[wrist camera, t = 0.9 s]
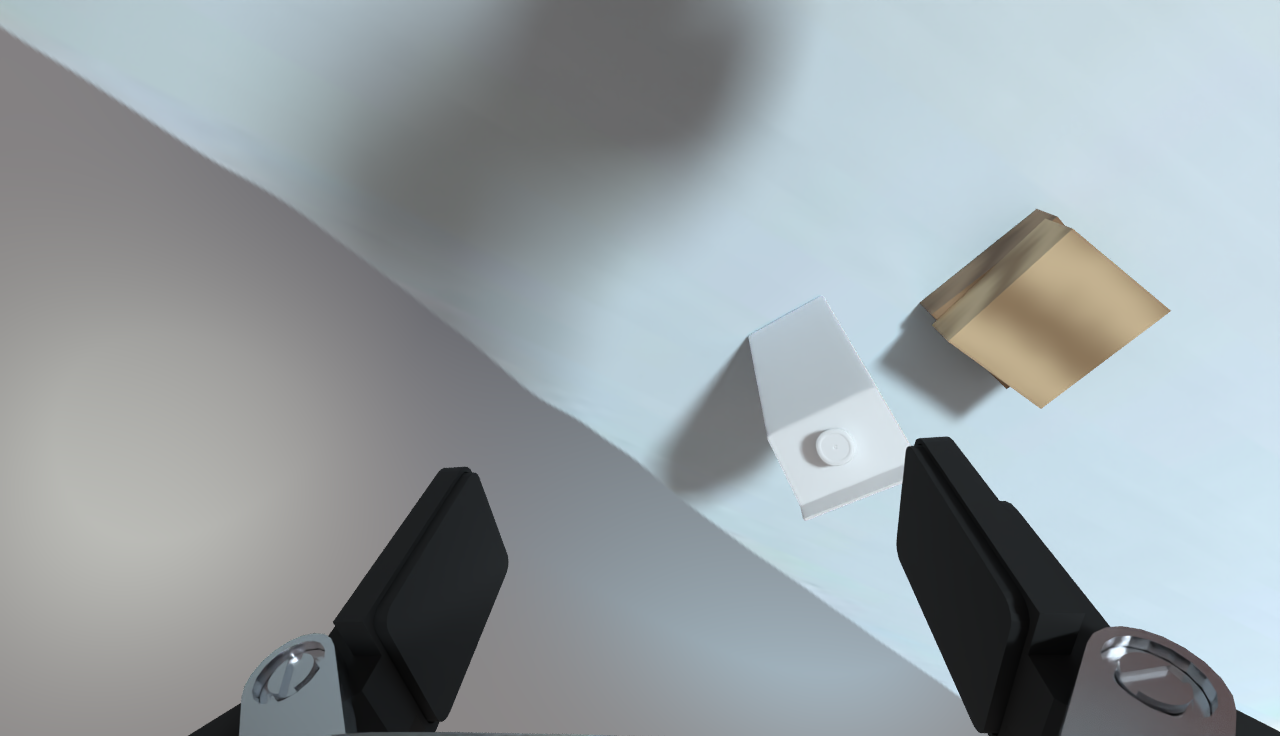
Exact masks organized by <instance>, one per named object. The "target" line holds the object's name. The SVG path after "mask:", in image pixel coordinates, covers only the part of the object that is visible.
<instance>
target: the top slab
mask: <svg viewBox="0 0 1280 736" xmlns="http://www.w3.org/2000/svg"><path fill="white" fill-rule="evenodd" d="M1169 312H1170V310H1169V309H1168V308H1167V307H1166V306H1164V305H1163V304H1162V303H1161V302H1160V301H1158V300H1157V299H1156V298H1155V297H1154V296H1153V295H1151V294H1150V293H1149V292H1148V291H1147V290H1145V289H1144V288H1143V287H1142V286H1141V285H1139V284H1138V283H1137V282H1136V281H1135V280H1133V279H1132V278H1131V277H1130V276H1129V275H1127V274H1126V273H1125V272H1124V271H1123V270H1121V269H1120V268H1119V267H1118V266H1117V265H1115V264H1114V263H1113V262H1112V261H1111V260H1109V259H1108V258H1107V257H1106V256H1105V255H1104V254H1102V253H1101V252H1100V251H1099V250H1098V249H1096V248H1095V247H1094V246H1093V245H1092V244H1090V243H1089V242H1088V241H1087V240H1086V239H1084V238H1083V237H1082V236H1081V235H1080V234H1078V233H1077V232H1076V231H1075V230H1074V229H1072V228H1069V227H1067V226H1064V225H1061V224H1059V223H1056V222H1053V221H1051V220H1048V219H1044V220H1043V221H1042V222H1041V223H1040V224H1039V225H1038V226H1037V227H1036V228H1035V229H1034V230H1032V231H1031V232H1030V233H1029V234H1028V235H1027V236H1026V237H1025V238H1024V239H1023V240H1022V241H1021V242H1020V243H1019V244H1018V245H1016V246H1015V247H1014V248H1013V249H1012V250H1011V251H1010V252H1009V253H1008V254H1007V255H1006V256H1005V257H1004V258H1003V259H1002V260H1001V261H999V262H998V263H997V264H996V265H995V266H994V267H993V268H992V269H991V270H990V271H989V272H988V273H987V274H986V275H985V276H983V277H982V278H981V279H980V280H979V281H978V282H977V283H976V284H975V285H974V286H973V287H972V288H971V289H970V290H969V291H967V292H966V293H965V294H964V295H963V296H962V297H961V298H960V299H959V300H958V301H957V302H956V303H955V304H954V305H953V306H951V307H950V308H949V309H948V310H947V311H946V312H945V313H944V314H943V315H942V316H941V317H940V318H939V319H938V320H937V321H935V322H934V323H933V324H932V326H933V327H934V328H935V329H936V330H937V331H938V332H939V333H940V334H941V335H942V336H943V337H944V338H945V339H946V340H947V341H948V342H949V343H951V344H952V345H954V346H955V347H956V348H958V349H959V350H960V351H962V352H963V353H965V354H966V355H967V356H969V357H970V358H971V359H973V360H974V361H976V362H977V363H978V364H980V365H981V366H983V367H984V368H985V369H987V370H988V371H989V372H991V373H992V374H994V375H995V376H996V377H998V378H999V379H1000V380H1002V381H1003V382H1005V383H1006V384H1007V385H1009V386H1010V387H1011V388H1013V389H1014V390H1016V391H1017V392H1018V393H1020V394H1021V395H1022V396H1024V397H1025V398H1027V399H1028V400H1029V401H1031V402H1032V403H1034V404H1035V405H1036V406H1038V407H1039V408H1040V409H1041V408H1043V407H1044V406H1045V405H1047V404H1048V403H1049V402H1051V401H1052V400H1053V399H1055V398H1056V397H1057V396H1059V395H1060V394H1061V393H1063V392H1064V391H1065V390H1067V389H1068V388H1069V387H1071V386H1072V385H1073V384H1075V383H1076V382H1077V381H1079V380H1080V379H1081V378H1083V377H1084V376H1085V375H1087V374H1088V373H1089V372H1090V371H1092V370H1093V369H1094V368H1096V367H1097V366H1098V365H1100V364H1101V363H1102V362H1104V361H1105V360H1106V359H1108V358H1109V357H1110V356H1112V355H1113V354H1114V353H1116V352H1117V351H1118V350H1120V349H1121V348H1122V347H1124V346H1125V345H1126V344H1128V343H1129V342H1130V341H1132V340H1133V339H1134V338H1136V337H1137V336H1138V335H1140V334H1141V333H1142V332H1144V331H1145V330H1146V329H1148V328H1149V327H1150V326H1152V325H1153V324H1154V323H1156V322H1157V321H1158V320H1160V319H1161V318H1162V317H1164V316H1165V315H1166V314H1168V313H1169Z"/></svg>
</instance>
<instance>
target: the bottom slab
mask: <svg viewBox="0 0 1280 736" xmlns="http://www.w3.org/2000/svg"><path fill="white" fill-rule="evenodd" d="M1044 219H1048V220H1051V221H1053V222H1056V223H1059V224H1061V225H1064V224H1063V223H1062V222H1061V220H1060V219H1059V218H1058V217H1057V216H1054V215H1051V214H1049V213H1046V212H1043V211H1041V210H1038V209H1036V210H1035V211H1034V212H1032V213H1031V214H1030V215H1029V216H1027V217H1026V218H1025V219H1024V220H1022V221H1021V222H1020V223H1019V224H1017V225H1016V226H1015V227H1014V228H1012V229H1011V230H1010V231H1009V232H1007V233H1006V234H1005V235H1004V236H1002V237H1001V238H1000V239H999V240H997V241H996V242H995V243H994V244H992V245H991V246H990V247H989V248H987V249H986V250H985V251H984V252H982V253H981V254H980V255H979V256H977V257H976V258H975V259H974V260H972V261H971V262H970V263H969V264H967V265H966V266H965V267H964V268H962V269H961V270H960V271H959V272H957V273H956V274H955V275H954V276H952V277H951V278H950V279H949V280H947V281H946V282H945V283H944V284H942V285H941V286H940V287H939V288H937V289H936V290H935V291H934V292H932V293H931V294H930V295H929V296H927V297H926V298H925V299H924V300H922V301H921V302H920V304H921V305H922V306H923V307H924V308H925V309H926V310H927V311H928V312H929V313H930V314H931V315H932V316H933V317H934V318H935V319H936V320H938V319H939V318H940V317H941V316H942V315H943V314H944V313H945V312H946V311H947V310H948V309H949V308H950V307H951V306H953V305H954V304H955V303H956V302H957V301H958V300H959V299H960V298H961V297H962V296H963V295H964V294H965V293H966V292H967V291H969V290H970V289H971V288H972V287H973V286H974V285H975V284H976V283H977V282H978V281H979V280H980V279H981V278H982V277H983V276H985V275H986V274H987V273H988V272H989V271H990V270H991V269H992V268H993V267H994V266H995V265H996V264H997V263H998V262H999V261H1001V260H1002V259H1003V258H1004V257H1005V256H1006V255H1007V254H1008V253H1009V252H1010V251H1011V250H1012V249H1013V248H1014V247H1015V246H1016V245H1018V244H1019V243H1020V242H1021V241H1022V240H1023V239H1024V238H1025V237H1026V236H1027V235H1028V234H1029V233H1030V232H1031V231H1032V230H1034V229H1035V228H1036V227H1037V226H1038V225H1039V224H1040V223H1041V222H1042V221H1043V220H1044ZM1064 226H1065V225H1064ZM990 373H991V372H990ZM991 374H992V373H991ZM992 375H993V376H994V377H995V378H996V379H997V380H998V381H999V382H1000V383H1001V384H1002V385H1003V386H1004V387H1005V388H1006V389H1007V388H1009V387H1010V386H1009V385H1007V384H1006V383H1005V382H1003V381H1002V380H1000V379H999V378H998V377H996V376H995V375H994V374H992Z"/></svg>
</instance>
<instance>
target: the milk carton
mask: <svg viewBox="0 0 1280 736" xmlns="http://www.w3.org/2000/svg"><path fill="white" fill-rule="evenodd" d="M748 339H749V344H750V349H751V355H752V360H753V365H754V370H755V376H756V381H757V386H758V392H759V397H760V402H761V407H762V413H763V418H764V423H765V428H766V433H767V439H768V441H769V443H770V445H771V447H772V449H773V451H774V453H775V455H776V458H777V460H778V462H779V464H780V466H781V468H782V470H783V472H784V474H785V476H786V478H787V480H788V482H789V484H790V486H791V488H792V490H793V492H794V494H795V496H796V499H797V501H798V503H799V505H800V507H801V511H802V515H803V519H804V520H805V521H807V520H809V519H812V518H814V517H817V516H820V515H822V514H825V513H827V512H830V511H832V510H835V509H838V508H840V507H843V506H845V505H848V504H850V503H853V502H856V501H858V500H861V499H863V498H866V497H868V496H871V495H874V494H876V493H879V492H881V491H884V490H886V489H889V488H892V487H894V486H897V485H899V484H902V482H903V472H904V462H905V452H906V448H907V447H908V446H911V445H910V443H909V441H908V440H907V438H906V436H905V434H904V433H903V431H902V429H901V427H900V426H899V424H898V422H897V421H896V419H895V417H894V415H893V414H892V412H891V410H890V409H889V407H888V405H887V403H886V402H885V400H884V398H883V396H882V395H881V393H880V391H879V390H878V388H877V386H876V384H875V383H874V381H873V379H872V378H871V376H870V374H869V372H868V371H867V369H866V367H865V366H864V364H863V362H862V360H861V359H860V357H859V355H858V354H857V352H856V350H855V348H854V347H853V345H852V343H851V342H850V340H849V338H848V337H847V335H846V333H845V331H844V330H843V328H842V326H841V325H840V323H839V321H838V319H837V318H836V316H835V314H834V313H833V311H832V309H831V307H830V306H829V304H828V302H827V301H826V299H825V297H824V296H819V297H817V298H815V299H814V300H812V301H810V302H808V303H806V304H805V305H803V306H801V307H799V308H797V309H796V310H794V311H792V312H790V313H788V314H787V315H785V316H783V317H781V318H779V319H778V320H776V321H774V322H772V323H770V324H768V325H767V326H765V327H763V328H761V329H759V330H758V331H756V332H754V333H752V334H751V335H749V337H748Z"/></svg>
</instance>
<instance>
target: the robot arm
mask: <svg viewBox="0 0 1280 736" xmlns="http://www.w3.org/2000/svg"><path fill="white" fill-rule="evenodd" d="M896 545H897V553H898V557H899V560H900V562H901V565H902V567H903V569H904V571H905V574H906V576H907V578H908V580H909V582H910V585H911V587H912V589H913V591H914V594H915V596H916V598H917V600H918V603H919V605H920V607H921V609H922V612H923V614H924V616H925V618H926V620H927V623H928V625H929V627H930V629H931V632H932V634H933V636H934V638H935V641H936V643H937V645H938V647H939V650H940V652H941V654H942V656H943V658H944V661H945V663H946V665H947V667H948V670H949V672H950V674H951V676H952V679H953V681H954V683H955V685H956V688H957V690H958V692H959V694H960V696H961V699H962V701H963V703H964V705H965V708H966V710H967V712H968V714H969V717H970V719H971V721H972V723H973V725H974V727H975V728H976V730H977V731H978V732H980V733H988V735H989V736H1280V732H1279V731H1277V730H1275V729H1274V728H1272V727H1270V726H1268V725H1266V724H1264V723H1262V722H1260V721H1258V720H1256V719H1254V718H1252V717H1250V716H1248V715H1246V714H1244V713H1242V712H1240V711H1238V710H1236V707H1235V703H1234V699H1233V695H1232V694H1231V692H1230V691H1229V689H1228V688H1227V686H1226V684H1225V683H1224V681H1223V680H1222V678H1221V677H1219V676H1218V675H1217V674H1216V673H1215V672H1214V671H1213V670H1212V669H1211V668H1210V667H1209V666H1208V665H1207V664H1206V663H1205V662H1204V661H1203V660H1201V659H1200V658H1198V657H1197V656H1195V655H1194V654H1193V653H1191V652H1190V651H1188V650H1187V649H1186V648H1184V647H1182V646H1180V645H1178V644H1176V643H1174V642H1172V641H1170V640H1168V639H1166V638H1164V637H1162V636H1159V635H1156V634H1153V633H1150V632H1147V631H1145V630H1142V629H1136V628H1129V627H1123V626H1118V627H1110V626H1109V625H1108V623H1107V622H1106V621H1105V620H1104V618H1103V617H1102V616H1101V615H1100V613H1099V612H1098V611H1097V609H1096V608H1095V607H1094V606H1093V604H1092V603H1091V602H1090V601H1089V599H1088V598H1087V597H1086V596H1085V594H1084V593H1083V592H1082V591H1081V589H1080V588H1079V587H1078V586H1077V584H1076V583H1075V582H1074V581H1073V579H1072V578H1071V577H1070V576H1069V574H1068V573H1067V572H1066V570H1065V569H1064V568H1063V567H1062V565H1061V564H1060V563H1059V562H1058V560H1057V559H1056V558H1055V557H1054V555H1053V554H1052V553H1051V552H1050V550H1049V549H1048V548H1047V547H1046V545H1045V544H1044V543H1043V542H1042V540H1041V539H1040V538H1039V536H1038V535H1037V534H1036V533H1035V531H1034V530H1033V529H1032V528H1031V526H1030V525H1029V524H1028V523H1027V521H1026V520H1025V519H1024V518H1023V516H1022V515H1021V514H1020V513H1019V511H1018V510H1017V509H1016V508H1015V507H1014V506H1013V505H1012V504H1011V503H1008V502H1006V501H999V500H998V498H997V497H996V496H995V494H994V493H993V492H992V490H991V489H990V488H989V487H988V485H987V484H986V483H985V481H984V480H983V479H982V477H981V476H980V475H979V474H978V472H977V471H976V470H975V468H974V467H973V466H972V464H971V463H970V462H969V460H968V459H967V458H966V457H965V455H964V454H963V453H962V451H961V450H960V449H959V447H958V446H957V445H956V444H955V442H954V441H953V440H952V439H951V438H950V437H932V438H919V439H917V440H916V442H915V445H914V446H908V447H907V448H906V452H905V462H904V472H903V482H902V492H901V502H900V512H899V522H898V532H897V543H896ZM507 569H508V555H507V552H506V549H505V547H504V544H503V541H502V539H501V536H500V533H499V531H498V528H497V525H496V522H495V519H494V517H493V514H492V511H491V508H490V506H489V503H488V500H487V497H486V495H485V492H484V489H483V487H482V484H481V481H480V478H479V476H478V474H476V473H472V472H471V470H470V469H469V468H468V467H454V468H443V469H441V470H440V471H439V472H438V474H437V475H436V476H435V478H434V479H433V481H432V482H431V484H430V485H429V486H428V488H427V489H426V491H425V492H424V493H423V495H422V496H421V498H420V499H419V500H418V502H417V503H416V505H415V506H414V508H413V509H412V511H411V512H410V514H409V515H408V516H407V518H406V519H405V520H404V522H403V523H402V525H401V526H400V527H399V529H398V530H397V532H396V533H395V535H394V536H393V537H392V539H391V540H390V542H389V543H388V545H387V546H386V548H385V549H384V550H383V552H382V553H381V554H380V556H379V557H378V559H377V560H376V562H375V563H374V564H373V566H372V567H371V569H370V570H369V572H368V573H367V574H366V576H365V577H364V579H363V580H362V581H361V583H360V584H359V586H358V587H357V589H356V590H355V591H354V593H353V594H352V596H351V597H350V599H349V600H348V602H347V603H346V604H345V606H344V607H343V608H342V610H341V611H340V613H339V614H338V616H337V617H336V618H335V620H334V621H333V623H334V625H335V627H334V629H333V630H332V632H331V633H330V634H329V636H327V635H325V634H317V633H313V634H308V635H303V636H300V637H298V638H296V639H293V640H291V641H289V642H287V643H286V644H284V645H283V646H281V647H279V648H278V649H276V650H275V651H274V652H272V654H270V655H269V656H268V657H267V658H265V659H264V660H263V661H262V662H261V664H260V665H259V666H258V667H257V668H256V669H255V671H254V672H253V673H252V674H251V676H250V678H249V679H248V681H247V683H246V684H245V686H244V690H243V694H242V698H241V703H240V704H239V705H237V706H235V707H234V708H232V709H230V710H229V711H227V712H226V713H224V714H222V715H221V716H219V717H218V718H216V719H214V720H213V721H211V722H210V723H208V724H206V725H205V726H203V727H202V728H200V729H198V730H197V731H195V732H193V733H192V734H190V735H189V736H613V735H571V734H570V735H569V734H519V733H517V734H516V733H515V734H514V733H463V732H462V733H460V732H435V731H436V729H437V727H438V724H439V722H442V721H444V720H445V719H446V718H447V717H448V714H449V712H450V710H451V708H452V706H453V703H454V700H455V698H456V695H457V693H458V691H459V688H460V686H461V683H462V681H463V678H464V676H465V674H466V671H467V669H468V666H469V664H470V661H471V658H472V656H473V654H474V651H475V649H476V647H477V644H478V641H479V638H480V636H481V634H482V632H483V629H484V627H485V624H486V622H487V619H488V617H489V615H490V612H491V609H492V607H493V605H494V602H495V600H496V597H497V595H498V592H499V590H500V587H501V585H502V583H503V580H504V578H505V575H506V573H507ZM614 736H615V735H614Z"/></svg>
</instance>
